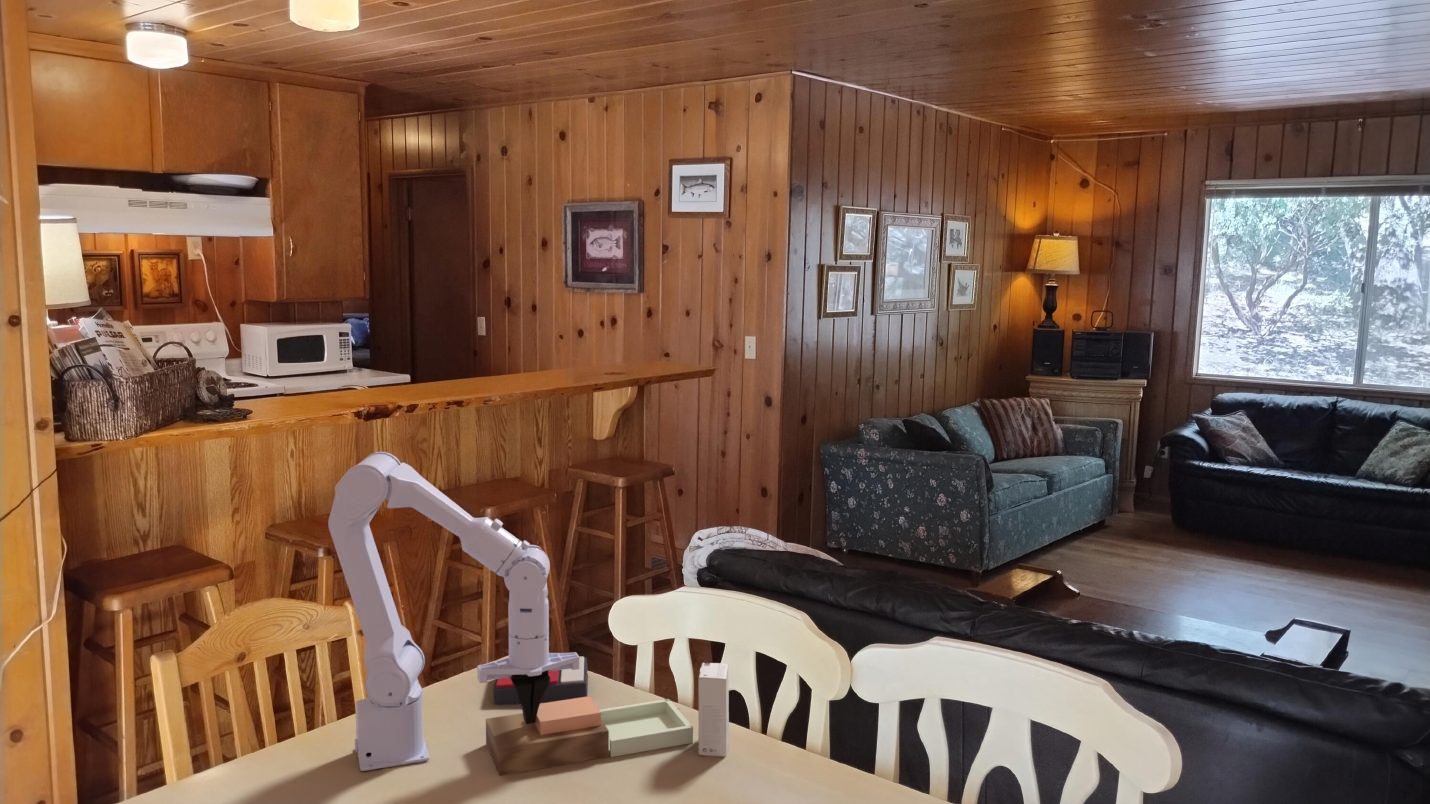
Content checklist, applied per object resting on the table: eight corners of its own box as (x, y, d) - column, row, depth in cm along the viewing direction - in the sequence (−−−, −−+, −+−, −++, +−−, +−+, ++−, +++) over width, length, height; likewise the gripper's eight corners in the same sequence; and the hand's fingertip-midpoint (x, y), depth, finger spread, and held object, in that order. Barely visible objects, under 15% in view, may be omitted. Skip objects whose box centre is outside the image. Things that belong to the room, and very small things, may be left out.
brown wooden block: (499, 775, 148) (498, 748, 147) (486, 744, 157) (485, 718, 156) (608, 756, 154) (608, 730, 153) (589, 727, 163) (589, 702, 162)
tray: (611, 756, 154) (611, 740, 153) (591, 725, 163) (591, 710, 163) (692, 742, 159) (693, 727, 158) (668, 713, 168) (668, 698, 168)
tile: (540, 734, 151) (540, 721, 151) (531, 717, 157) (531, 704, 157) (600, 725, 155) (600, 712, 155) (590, 708, 160) (589, 696, 160)
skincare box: (727, 757, 154) (728, 679, 152) (696, 755, 155) (698, 677, 153) (729, 737, 160) (731, 662, 159) (700, 736, 161) (701, 661, 159)
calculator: (498, 658, 180) (586, 652, 182) (500, 682, 181) (588, 675, 183) (492, 685, 170) (586, 678, 171) (494, 710, 170) (587, 703, 172)
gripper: (483, 648, 145) (484, 740, 147) (584, 635, 151) (585, 724, 153) (474, 630, 152) (475, 719, 154) (572, 618, 157) (572, 704, 159)
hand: (529, 720), depth 154 cm, fingers closed
